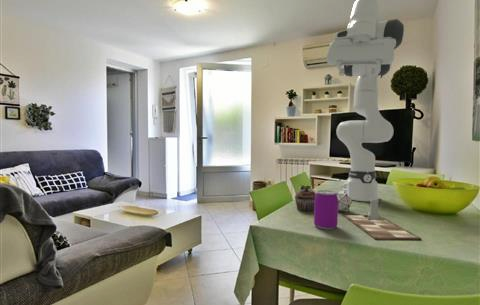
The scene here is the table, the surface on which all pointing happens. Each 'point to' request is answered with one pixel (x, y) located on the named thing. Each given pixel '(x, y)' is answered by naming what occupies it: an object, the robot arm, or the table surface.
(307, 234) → the table surface
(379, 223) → the board
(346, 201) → the game die
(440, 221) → the table surface
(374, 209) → the rook chess piece
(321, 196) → the beverage can
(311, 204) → the cupcake
